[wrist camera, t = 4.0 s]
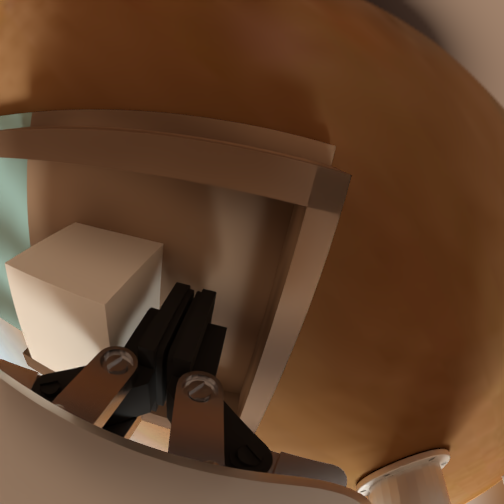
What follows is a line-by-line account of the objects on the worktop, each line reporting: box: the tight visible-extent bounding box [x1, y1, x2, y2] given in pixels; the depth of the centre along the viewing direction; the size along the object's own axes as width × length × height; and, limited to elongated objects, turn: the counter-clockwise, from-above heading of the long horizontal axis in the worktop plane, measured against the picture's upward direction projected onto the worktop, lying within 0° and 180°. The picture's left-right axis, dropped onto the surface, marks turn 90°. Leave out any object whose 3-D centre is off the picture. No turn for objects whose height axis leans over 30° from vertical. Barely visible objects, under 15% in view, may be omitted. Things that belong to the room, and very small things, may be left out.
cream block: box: [5, 222, 163, 372], centre depth 10 cm, size 5×5×5 cm
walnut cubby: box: [0, 109, 352, 434], centre depth 12 cm, size 16×23×4 cm
